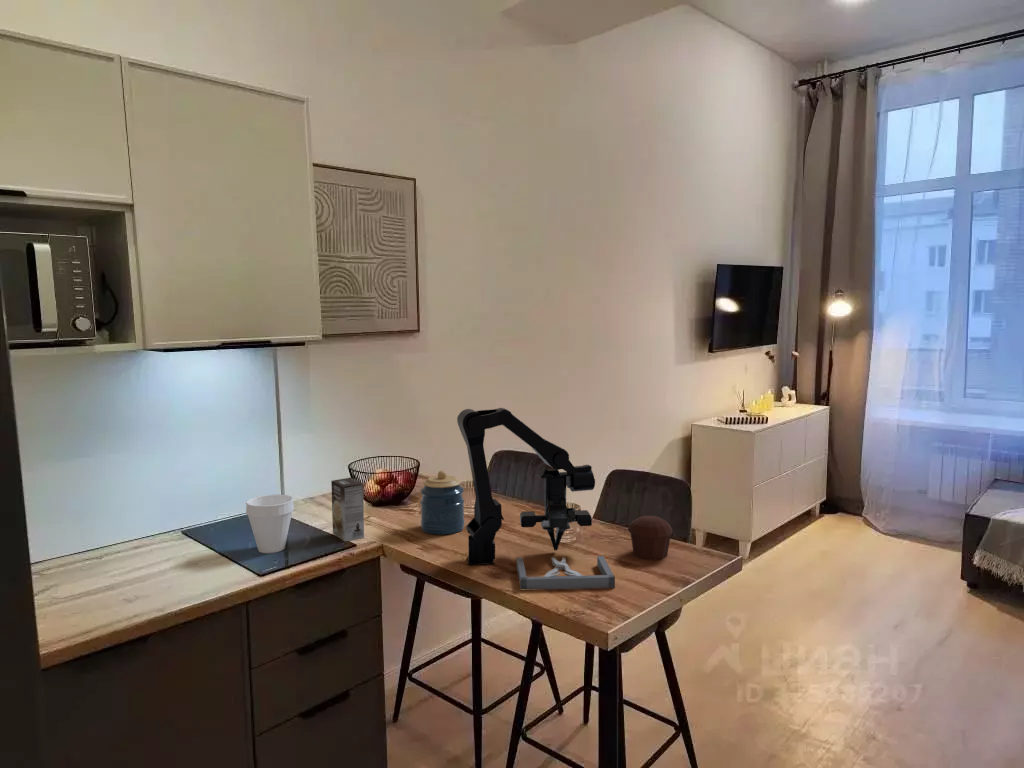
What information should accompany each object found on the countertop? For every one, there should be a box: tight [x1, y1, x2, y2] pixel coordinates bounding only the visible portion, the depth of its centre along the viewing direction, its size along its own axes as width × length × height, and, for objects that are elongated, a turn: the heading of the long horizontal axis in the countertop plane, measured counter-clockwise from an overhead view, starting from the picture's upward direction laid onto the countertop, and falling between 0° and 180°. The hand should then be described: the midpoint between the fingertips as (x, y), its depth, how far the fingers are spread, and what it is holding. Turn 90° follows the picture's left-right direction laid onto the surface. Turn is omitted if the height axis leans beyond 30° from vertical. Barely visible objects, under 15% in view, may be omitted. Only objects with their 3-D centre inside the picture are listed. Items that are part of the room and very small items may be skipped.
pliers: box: [543, 557, 584, 577], centre depth 169 cm, size 10×2×15 cm
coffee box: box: [331, 477, 365, 543], centre depth 198 cm, size 9×6×16 cm
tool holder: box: [516, 555, 616, 590], centre depth 166 cm, size 22×14×2 cm, turn 93°
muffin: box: [627, 515, 673, 561], centre depth 182 cm, size 12×11×10 cm
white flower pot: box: [245, 494, 295, 554], centre depth 187 cm, size 12×12×14 cm
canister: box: [419, 470, 465, 536], centre depth 204 cm, size 13×13×18 cm
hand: (555, 549), depth 184 cm, fingers closed
